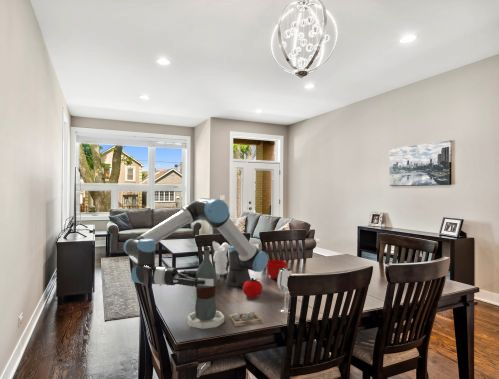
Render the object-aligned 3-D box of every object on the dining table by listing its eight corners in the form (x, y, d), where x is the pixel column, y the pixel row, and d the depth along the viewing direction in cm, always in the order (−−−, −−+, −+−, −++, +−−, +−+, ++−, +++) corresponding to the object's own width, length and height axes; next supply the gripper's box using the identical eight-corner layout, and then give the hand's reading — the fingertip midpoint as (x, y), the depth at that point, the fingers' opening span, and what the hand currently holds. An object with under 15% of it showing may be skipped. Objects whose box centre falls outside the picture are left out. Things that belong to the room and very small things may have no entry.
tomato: (239, 295, 182) (240, 276, 182) (257, 293, 186) (257, 275, 186) (246, 301, 172) (247, 282, 172) (265, 299, 176) (265, 280, 176)
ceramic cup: (280, 283, 206) (281, 266, 205) (261, 277, 218) (262, 261, 218) (294, 279, 214) (295, 263, 214) (275, 273, 227) (276, 259, 227)
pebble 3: (252, 317, 150) (252, 310, 150) (254, 319, 148) (254, 312, 147) (245, 317, 149) (245, 311, 149) (248, 320, 146) (248, 313, 146)
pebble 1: (238, 318, 148) (238, 311, 148) (241, 321, 146) (241, 314, 145) (232, 319, 147) (232, 312, 147) (234, 322, 144) (234, 315, 144)
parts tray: (253, 316, 153) (253, 311, 153) (261, 324, 144) (261, 319, 144) (228, 319, 148) (228, 315, 148) (234, 327, 140) (234, 323, 140)
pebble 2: (246, 319, 147) (247, 313, 147) (249, 322, 144) (249, 315, 144) (240, 320, 146) (240, 313, 146) (242, 323, 143) (242, 316, 143)
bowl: (217, 313, 155) (218, 308, 155) (227, 326, 141) (227, 320, 141) (185, 317, 150) (185, 311, 150) (191, 331, 136) (191, 325, 136)
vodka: (197, 312, 150) (198, 245, 150) (217, 312, 150) (218, 245, 150) (192, 320, 141) (194, 249, 140) (214, 321, 141) (215, 249, 140)
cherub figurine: (226, 271, 232) (227, 239, 232) (232, 275, 221) (233, 242, 221) (209, 272, 228) (210, 239, 228) (214, 277, 216) (215, 242, 216)
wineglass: (275, 308, 162) (275, 267, 162) (291, 308, 163) (291, 267, 163) (277, 315, 155) (278, 271, 154) (294, 314, 155) (295, 271, 155)
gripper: (176, 277, 159) (222, 280, 155) (155, 292, 137) (209, 296, 134) (176, 262, 159) (222, 264, 155) (156, 274, 137) (209, 277, 134)
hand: (216, 279), depth 144 cm, fingers closed on vodka, 9 cm apart
